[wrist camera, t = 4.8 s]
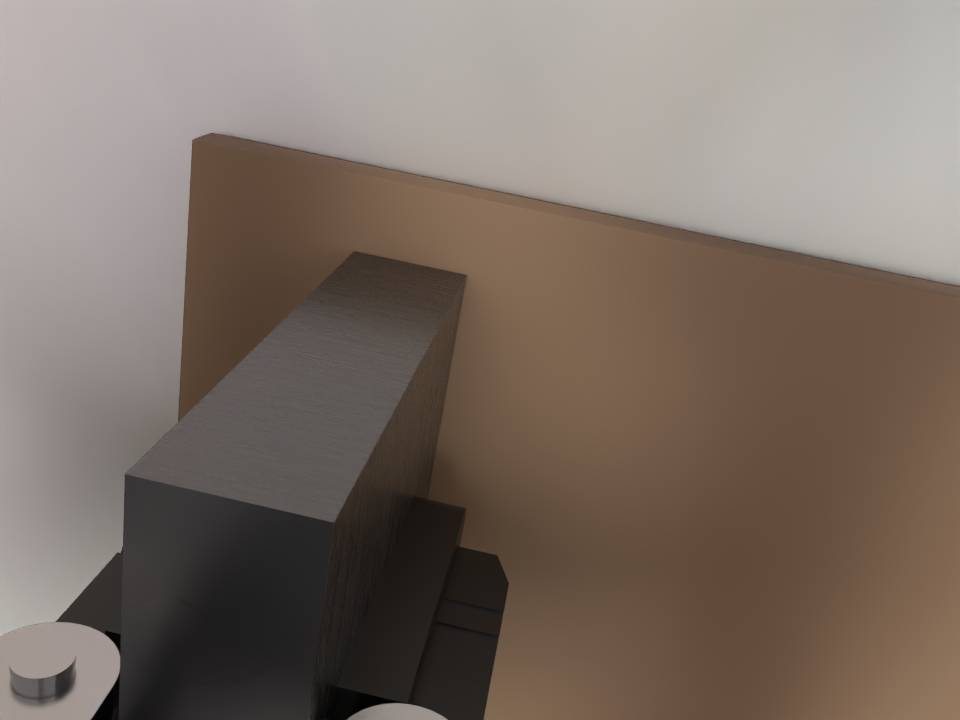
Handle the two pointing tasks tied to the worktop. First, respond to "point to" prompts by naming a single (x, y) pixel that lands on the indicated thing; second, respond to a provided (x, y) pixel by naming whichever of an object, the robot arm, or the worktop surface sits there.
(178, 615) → the walnut strip
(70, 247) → the worktop surface
